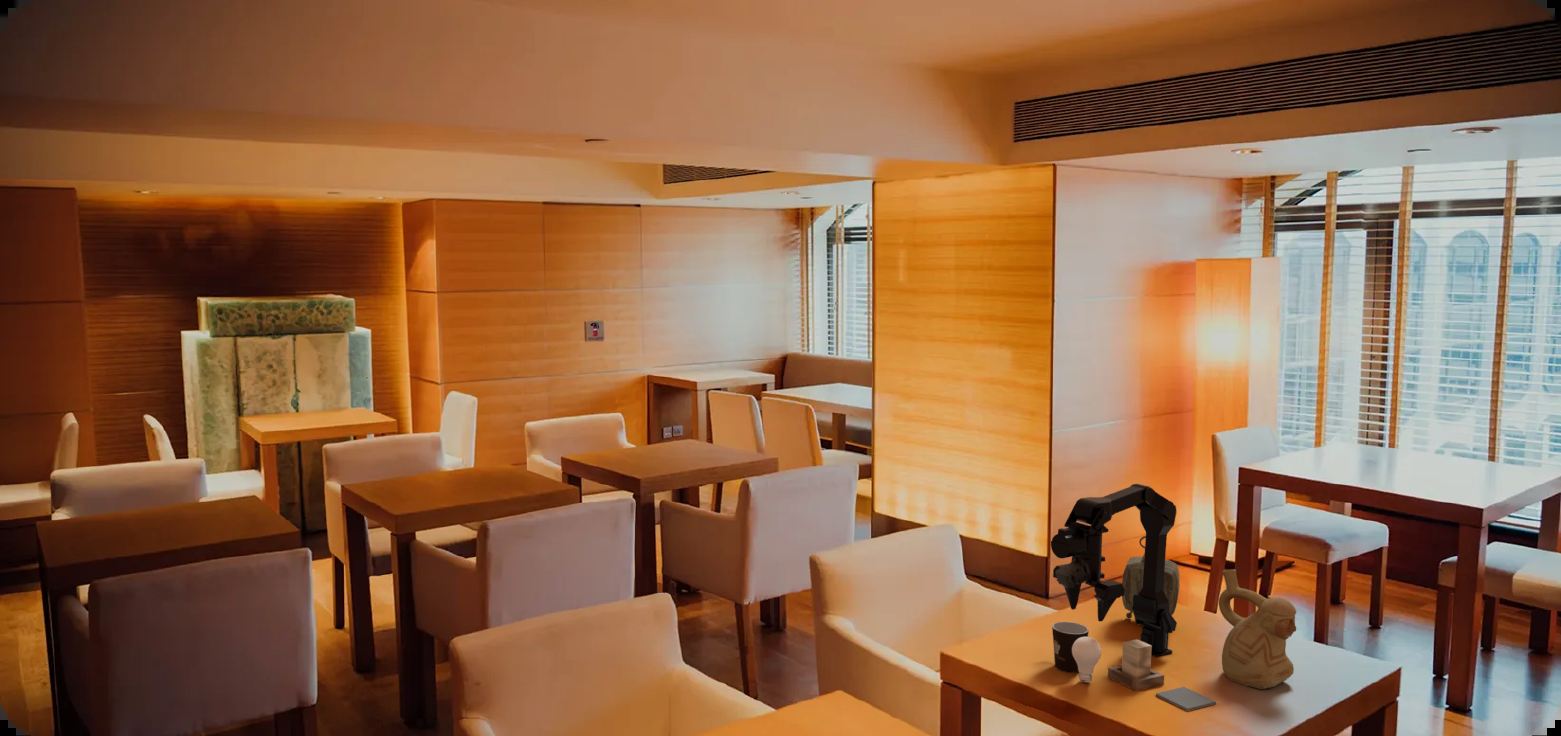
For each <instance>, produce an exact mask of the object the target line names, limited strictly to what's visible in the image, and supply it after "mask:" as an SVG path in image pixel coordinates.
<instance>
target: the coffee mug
mask: <svg viewBox="0 0 1561 736" xmlns="http://www.w3.org/2000/svg"><path fill="white" fill-rule="evenodd" d="M1051 629H1052V630H1051V631H1052V642H1053V643H1052V644H1053V655H1054V656H1053V657H1054V667H1055V668H1056V669H1057V670H1059V671H1061V672H1063V673H1064V672H1065V673H1069V672H1070V674H1072V673H1073V674H1074V673H1079V671H1078V665H1077V663H1076V661H1075V659H1074V657H1073V654H1072V646H1073V644H1074V642H1075V641H1076V640H1077V639H1079V638H1080V637H1089V630H1090V629H1089V628H1088V627H1087V626H1086V625H1084V624H1081V623H1079V622H1078V623H1077V622H1074V621H1058V622H1054V623H1052V624H1051Z"/></svg>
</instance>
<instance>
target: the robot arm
mask: <svg viewBox="0 0 1561 736" xmlns="http://www.w3.org/2000/svg"><path fill="white" fill-rule="evenodd" d="M1133 507H1134V508H1136V509H1137V510H1138V511H1139V520H1140V523H1141V525H1142V527H1143V529H1144V531H1145V536H1146V538H1145V541H1144V542H1145V543H1144V546H1145V549H1144V553H1145V555H1144V554H1143V555H1144V570H1143V585H1142V589H1141V590H1140V591H1139V593H1138V594H1135V595H1134V596H1133V606H1132V610H1133V613H1132V615H1133V616H1134V621H1135V625H1140V626H1141V633H1140V638H1139V640H1140V641H1142V642H1145V643H1147V644H1149V645H1152V651H1151V657H1161V656H1164V655H1169V654H1172V653H1173V650H1172V649H1170V648H1168V647H1169V634H1173V632H1175V631H1176V628H1177V624H1178V622H1177V621H1176V619H1175V618H1174V616H1173V615H1171V614H1170V613H1169V601H1168V599H1167V597H1166V595H1165V593H1164V591H1163V584H1164V570H1165V560H1166V555H1167V554H1166V552H1167V540H1168V539H1167V536H1168V534H1169V532H1171V529H1173V528H1174V526H1175V523H1176V516H1177V506H1176V505H1175V503H1174V502H1173V501H1171V500H1169V499H1167V498H1166V497H1164V496H1163V495H1161V494H1159V493H1158V492H1156V491H1155V489H1154V488H1153V487H1151V486H1150V485H1144V484H1139V483H1133V484H1131V485H1130V486H1129V487H1126V488H1123V489H1120V490H1117V491H1115V492H1113V493H1109V494H1108V495H1104V496H1101V497H1097V496H1095V497H1094V496H1088V497H1087V496H1086V497H1081V498H1079V499H1077V500H1076V501H1075V503H1074V505H1073V507H1072V510H1071V512H1070V513H1069V515H1068V517H1067V519H1066V521H1065V523H1064V527H1061V528H1058V529H1057V534H1055V535H1053V537H1052V539H1051V540H1050V549H1051V551H1052V553H1053V554H1054V556H1055V557H1057V558H1058V559H1066V558H1071V561H1070V563H1066V564H1059V565H1055V567H1054V568H1053V570H1052V577H1053V578H1054V579H1056V582H1058V584H1059V585H1061V586H1063V588H1064V590H1065V593H1066V597H1067V600H1068V602H1069V605H1070V609H1071V610H1072V611H1074V610H1076V609H1077V605H1078V601H1079V598H1080V593H1081V589H1082V584H1086V585H1088V586H1091V587H1092V588H1093V589H1094V590H1093V591H1094V593H1095V594H1093V597H1094V598H1095V600H1096V601H1097V620H1098V622H1104V619H1105V618H1106V616H1107V614H1108V612H1109V611H1110V609H1111V607H1112V606H1113V604H1114V603H1115V601H1116V600H1117V599H1120V598H1122V596H1125V586H1124V585H1123V584H1122V582H1119V581H1116V580H1114V579H1107V580H1101V579H1105V578H1106V577H1105V573H1103V572H1102V562H1106V557H1105V556H1103V555H1102V551H1103V549H1102V548H1103V534H1106V533H1108V532H1109V531H1110V530H1109V528H1108V527H1106V526H1105V525H1106V524H1107V523H1108V522H1111V520H1112V518H1113V516H1114V515H1115V514H1118V513H1120V512H1123V511H1125V510H1128V509H1131V508H1133Z"/></svg>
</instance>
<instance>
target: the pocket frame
mask: <svg viewBox="0 0 1561 736" xmlns="http://www.w3.org/2000/svg"><path fill="white" fill-rule="evenodd" d="M1107 678H1109V679H1111V680H1112V681H1115V682H1118V683H1120V684H1122V685H1123V686H1126V687H1128V688H1130V689H1132V690H1134V691H1141V690H1145V689H1150V688H1153V687H1158V686H1163V685H1164V684H1165V674H1164V673H1160V672H1158V671H1156V670H1154V669H1150V676H1146V677H1142V678H1138V679H1136V678H1134V677H1132V676H1129V675H1127V674H1125V673H1123V672H1122V664H1120V665H1115V666H1110V667H1108V668H1107Z"/></svg>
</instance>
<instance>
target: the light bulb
mask: <svg viewBox="0 0 1561 736" xmlns="http://www.w3.org/2000/svg"><path fill="white" fill-rule="evenodd" d="M1072 654H1073V657H1074V659H1075V661H1076V663H1077V665H1078V671H1079V672H1078V680H1079V681H1080V682H1081V683H1083V684H1089V683H1091V682H1092V681H1093V676H1092V675H1093V674H1094V668H1095V666H1096V665H1097V664H1098V662H1099V661H1100V659H1101V658H1102V648H1101V645H1100V643H1099V642H1098V641H1097V640H1096V639H1094V638H1093V637H1090V636H1088V637H1080V638H1079V639H1077V640H1076V641H1075V642H1074V644H1073V646H1072Z"/></svg>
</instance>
